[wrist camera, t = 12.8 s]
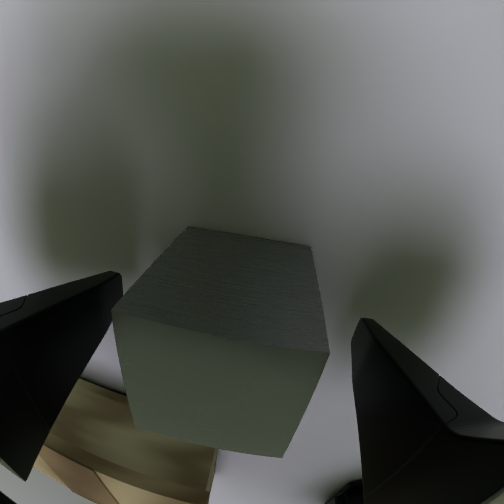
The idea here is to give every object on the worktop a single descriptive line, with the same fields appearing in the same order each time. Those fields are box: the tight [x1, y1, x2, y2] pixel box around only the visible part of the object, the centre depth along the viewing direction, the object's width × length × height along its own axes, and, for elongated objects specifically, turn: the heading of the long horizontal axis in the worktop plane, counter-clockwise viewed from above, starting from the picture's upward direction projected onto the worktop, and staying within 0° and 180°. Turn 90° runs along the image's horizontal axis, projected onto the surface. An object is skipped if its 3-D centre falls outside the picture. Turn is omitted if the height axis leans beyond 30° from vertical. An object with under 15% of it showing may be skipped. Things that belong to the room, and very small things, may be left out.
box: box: [50, 378, 218, 496], centre depth 13 cm, size 14×8×4 cm, turn 82°
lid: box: [33, 433, 210, 504], centre depth 11 cm, size 14×9×1 cm, turn 82°
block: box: [111, 227, 330, 458], centre depth 8 cm, size 4×4×5 cm
